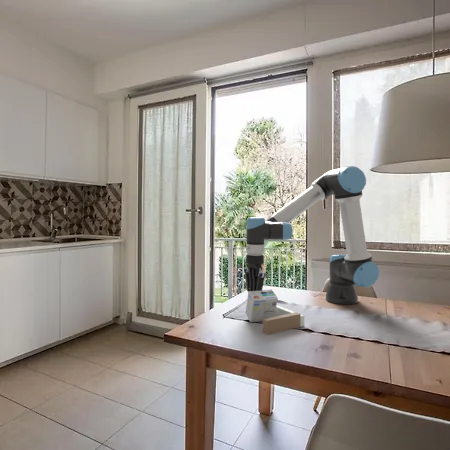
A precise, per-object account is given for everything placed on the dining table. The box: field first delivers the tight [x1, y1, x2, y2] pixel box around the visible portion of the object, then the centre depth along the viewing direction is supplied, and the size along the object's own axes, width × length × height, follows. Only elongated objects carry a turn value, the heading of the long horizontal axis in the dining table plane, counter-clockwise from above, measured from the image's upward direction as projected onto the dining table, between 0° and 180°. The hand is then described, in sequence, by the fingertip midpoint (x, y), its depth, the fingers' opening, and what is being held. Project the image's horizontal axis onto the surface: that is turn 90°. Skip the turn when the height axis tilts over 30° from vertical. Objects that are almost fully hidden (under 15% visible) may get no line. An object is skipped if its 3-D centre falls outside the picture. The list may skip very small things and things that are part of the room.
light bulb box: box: [245, 289, 279, 323], centre depth 133 cm, size 11×7×11 cm, turn 107°
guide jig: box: [262, 304, 305, 335], centre depth 133 cm, size 18×24×5 cm
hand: (253, 309), depth 138 cm, fingers closed
